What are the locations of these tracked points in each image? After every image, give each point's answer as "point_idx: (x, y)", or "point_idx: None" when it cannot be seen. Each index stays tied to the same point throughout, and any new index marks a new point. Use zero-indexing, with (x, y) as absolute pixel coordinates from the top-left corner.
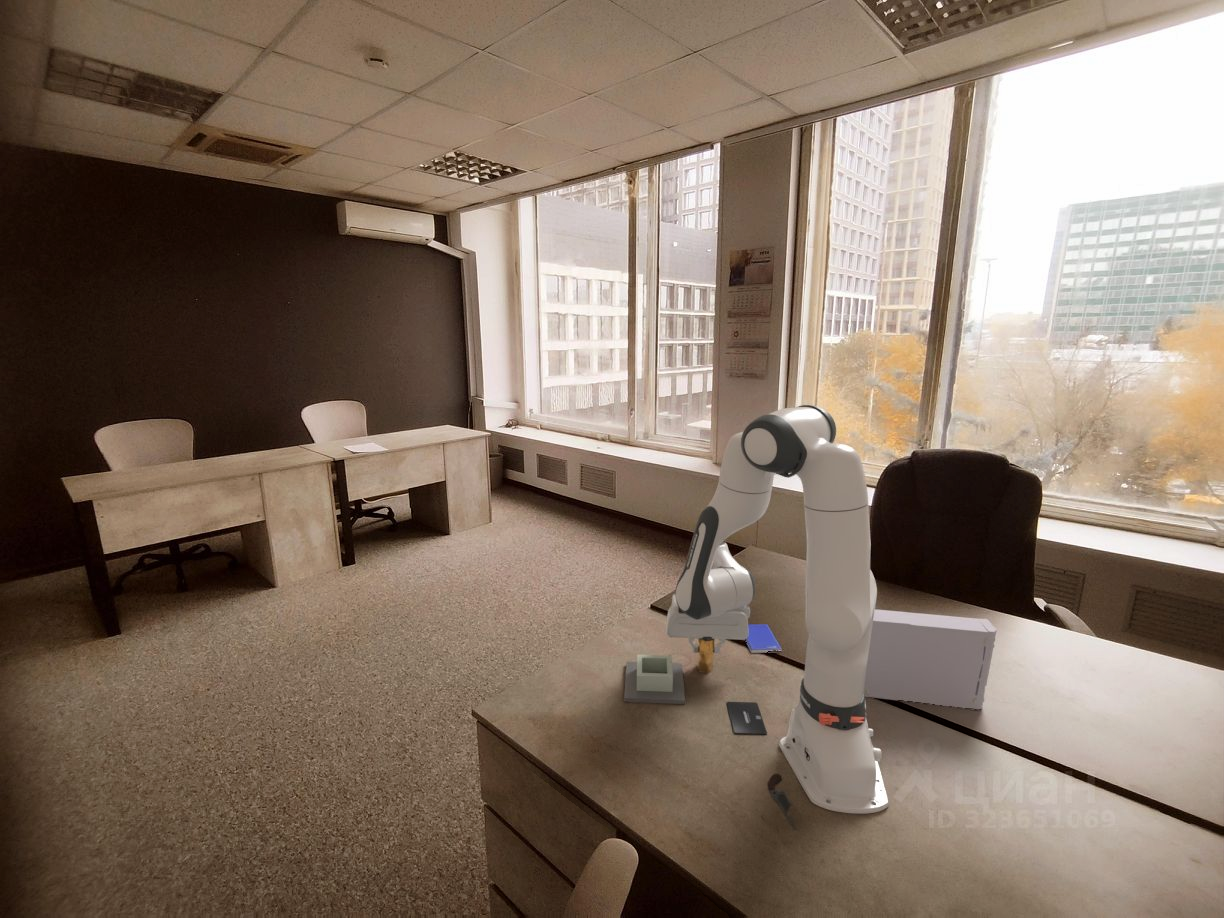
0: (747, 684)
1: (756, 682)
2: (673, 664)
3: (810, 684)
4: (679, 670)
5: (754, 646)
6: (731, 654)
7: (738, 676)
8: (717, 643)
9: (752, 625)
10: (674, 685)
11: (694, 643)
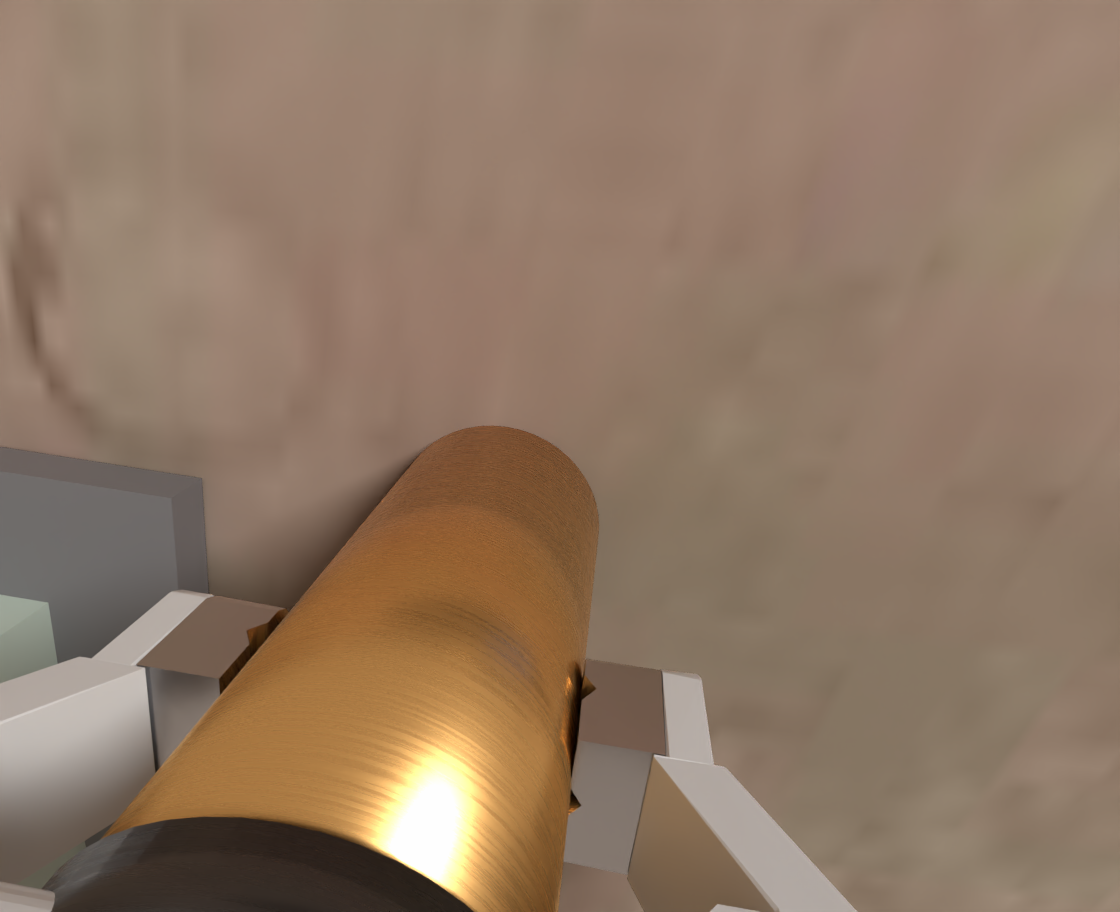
0: (900, 834)
1: (1022, 822)
2: (68, 507)
3: None
4: None
5: None
6: (995, 245)
7: (860, 712)
8: (660, 791)
9: None
10: (106, 828)
11: (129, 716)
